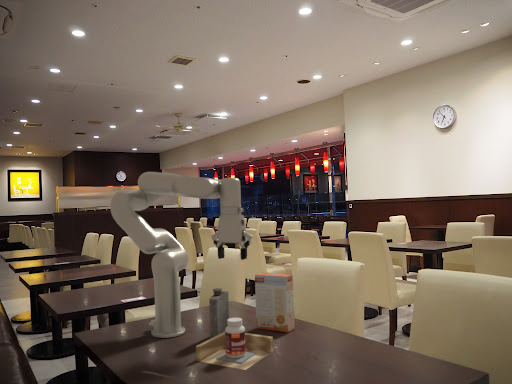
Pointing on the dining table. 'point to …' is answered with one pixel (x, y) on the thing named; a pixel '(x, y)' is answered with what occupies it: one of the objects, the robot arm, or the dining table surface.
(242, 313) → the dining table surface
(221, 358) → the slate pad
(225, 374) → the dining table surface
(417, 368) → the dining table surface
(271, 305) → the cracker box
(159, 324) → the robot arm
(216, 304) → the flask
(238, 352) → the pill bottle
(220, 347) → the wooden corner stand
